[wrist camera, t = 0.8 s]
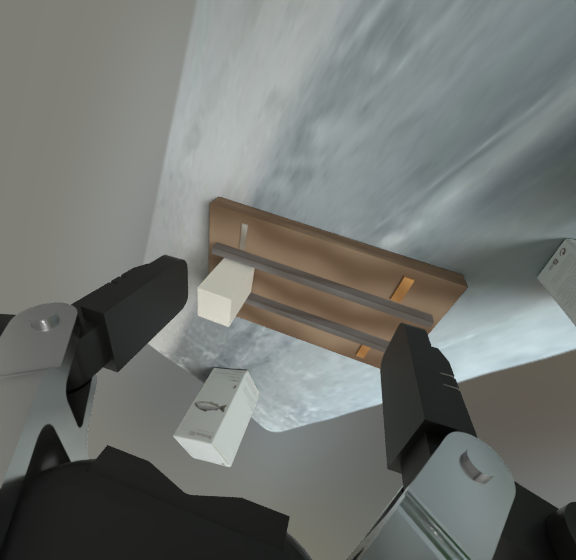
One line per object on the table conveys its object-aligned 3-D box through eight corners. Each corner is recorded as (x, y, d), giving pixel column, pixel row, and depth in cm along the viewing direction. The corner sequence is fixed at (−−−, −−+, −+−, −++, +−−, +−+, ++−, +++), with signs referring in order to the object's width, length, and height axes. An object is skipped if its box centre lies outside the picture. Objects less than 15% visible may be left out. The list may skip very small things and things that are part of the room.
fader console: (219, 196, 29) (203, 207, 26) (462, 275, 26) (471, 295, 24) (215, 296, 38) (203, 311, 35) (394, 361, 36) (395, 382, 33)
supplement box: (248, 368, 46) (212, 445, 37) (260, 394, 50) (231, 469, 41) (213, 365, 49) (170, 436, 39) (227, 390, 53) (192, 459, 43)
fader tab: (226, 255, 30) (197, 287, 25) (255, 265, 30) (231, 299, 25) (224, 282, 32) (198, 315, 28) (251, 291, 32) (228, 327, 28)
